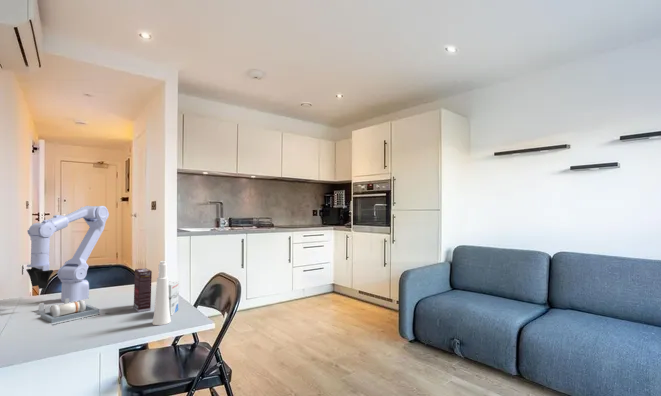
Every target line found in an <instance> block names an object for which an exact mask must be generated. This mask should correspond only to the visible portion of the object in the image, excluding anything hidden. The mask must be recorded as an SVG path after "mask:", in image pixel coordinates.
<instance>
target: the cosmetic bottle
mask: <svg viewBox="0 0 661 396" xmlns="http://www.w3.org/2000/svg"><path fill="white" fill-rule="evenodd" d="M168 281H169V277H168V264H167V260H161V261H159V264H158V276H157V278H156V285H155V286H156V287H155V300H154V301H155V302H154V312H153V318H152V322H151V323H152V326H153V325H154V326H165V325H167V324H170V323H171V322H172V319H171V316H170V311H169V287H168Z"/></svg>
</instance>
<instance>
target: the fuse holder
mask: <svg viewBox="0 0 661 396" xmlns="http://www.w3.org/2000/svg"><path fill="white" fill-rule="evenodd" d="M72 302H77V301H71V302H69V298H68V299H64V302H63V304H67V303H72ZM50 307H51V305H50V304H49V305H45V302H41V303H38V309H36V310H32V313H35V314H37V315H39V316H41V313H46V312H50Z"/></svg>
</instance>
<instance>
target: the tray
mask: <svg viewBox="0 0 661 396" xmlns="http://www.w3.org/2000/svg"><path fill="white" fill-rule="evenodd" d="M96 316H100V308H97V307H96V306H92V305H91V304H90V305H89V304H86V309H85V311H84V312H77V313H71V314H66V315H62V316H59V317H55V318H54V317H52V316H50V312H46V313H41V315H40V318H41V319H43V320H45V321H46V322H48V323H51V324H52V326H56V325H59V324H64V323H68V322H69V323H70V322H74V321H77V320H82V318H83V319H86V318H91V317H96ZM58 322H59V323H58Z"/></svg>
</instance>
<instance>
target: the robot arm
mask: <svg viewBox="0 0 661 396" xmlns="http://www.w3.org/2000/svg"><path fill="white" fill-rule="evenodd" d="M52 216H53V217H51V218H48V219H43V220H42V222H41V223H40V222H36V223H35V222H34V223H33V224H31V225H30V227H29V228H28V229H27V234H28V236H29V237H30V241H31V242H30V243H31V244H30V264H26V268H27V269H26V271H25V272H27V274H28V276H29V278H30V283H31V287H38V289H42V290H43V289H46V288H47V286H48V283H49V280H50V277H51V276H52V274H53V273H54V270H53V269H50V268H51V266H50V265H51V264H50V250H51V249H50V247H51V246H50V245H51V243H50V242H51V241H50V240H51V237H52V236H53V235H54V233H56V232H59V231H61V230H62V229H65V228H67V227H68V225H69V224H70V223H72V222H75V221H77V220H80V219H83V220H84V221H85V223H86V224H87V226H88V227H89V228H88V230H87V231H86V234H85V235H84V237H83V238H82V240H81V242H80V243H79V246H78V247H77V249H76V251H75V253H74V254H73V255H72V257H71V258H70V259H68V260H66V261H65V262H64V263H63V265H62V266H61V267H59V269H58V271H57V278H58V279H59V280H60V282H61V297H60V299H61V300H60V301H61V303H64V299H68V298H69V303H71V301H76V302H77V301H79V300H84V301H85V300H88V299H89V298H90V297H89V295H90V282H89V281H88V280H87V279H86V277H87V275H88V274H87V273H88V269H89V265H88V263H87V261H88V260H89V258H90V256H91V253H92V252H93V249H95V246H96V245H97V243H98V240H99V239H100V237H101V236H102V233H103V232H104V230H105V227H106V222H107V220H108V219H109V216H110V213H109V210H108V208H107V206H105V205H99V206H98V205H96V206H95V205H93V206H92V205H85V206H81V207H80V208H78V209H77V210H74V211H72V212H70V213H68V214H66V215H62V214H54V215H52Z"/></svg>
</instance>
